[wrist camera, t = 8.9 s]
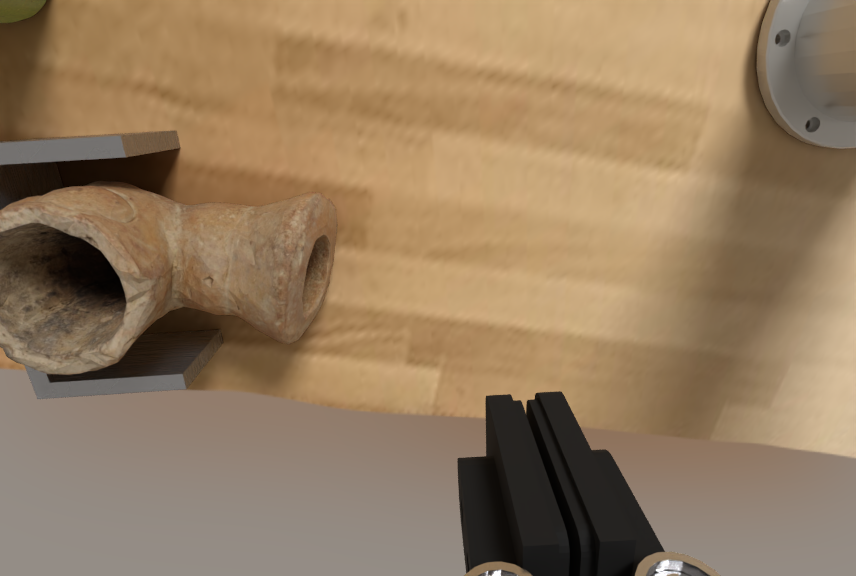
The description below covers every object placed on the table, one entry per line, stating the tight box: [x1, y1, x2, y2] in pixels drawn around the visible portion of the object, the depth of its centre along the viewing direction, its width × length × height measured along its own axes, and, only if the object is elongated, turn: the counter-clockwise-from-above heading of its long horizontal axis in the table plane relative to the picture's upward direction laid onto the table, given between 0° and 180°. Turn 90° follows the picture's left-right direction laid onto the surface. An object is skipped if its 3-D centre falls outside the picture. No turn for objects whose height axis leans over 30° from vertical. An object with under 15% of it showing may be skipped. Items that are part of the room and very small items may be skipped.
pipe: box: [0, 181, 337, 375], centre depth 27 cm, size 9×16×10 cm, turn 87°
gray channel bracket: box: [0, 131, 223, 399], centre depth 29 cm, size 8×14×6 cm, turn 3°
